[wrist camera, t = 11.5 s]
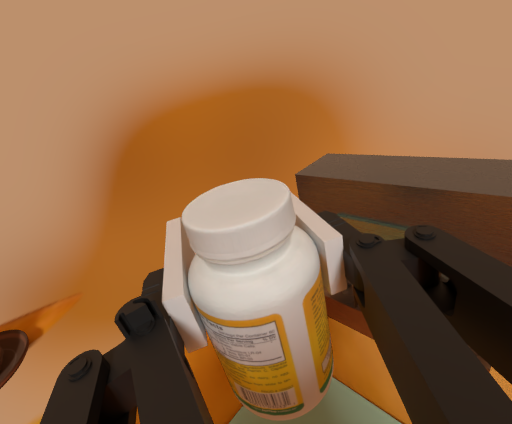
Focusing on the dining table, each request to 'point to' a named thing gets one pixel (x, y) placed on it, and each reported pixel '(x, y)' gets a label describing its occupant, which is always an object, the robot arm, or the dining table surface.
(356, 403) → the green mat
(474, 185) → the mounted unit
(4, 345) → the brown top hat
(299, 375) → the supplement bottle
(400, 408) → the dining table surface
